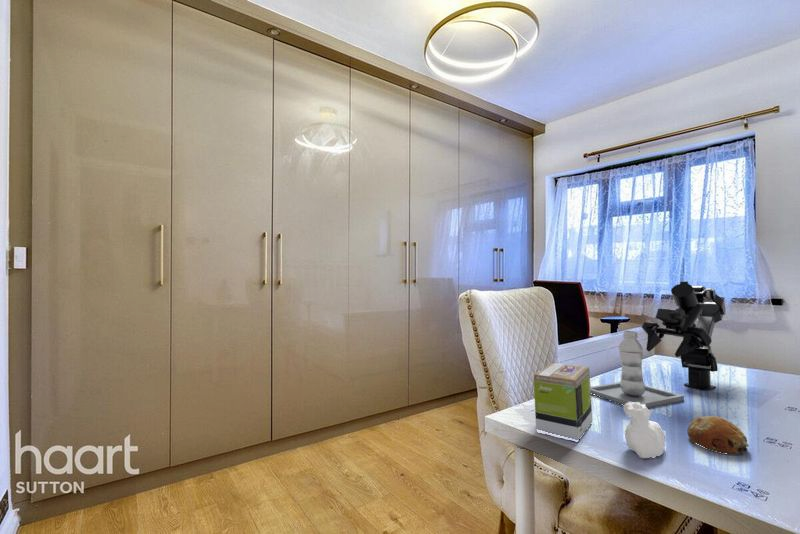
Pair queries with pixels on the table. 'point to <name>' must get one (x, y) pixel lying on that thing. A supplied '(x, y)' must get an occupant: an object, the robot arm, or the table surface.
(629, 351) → the plastic bottle
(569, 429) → the tea box
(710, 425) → the bread roll
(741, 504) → the table surface
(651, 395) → the tray
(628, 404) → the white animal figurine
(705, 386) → the robot arm
